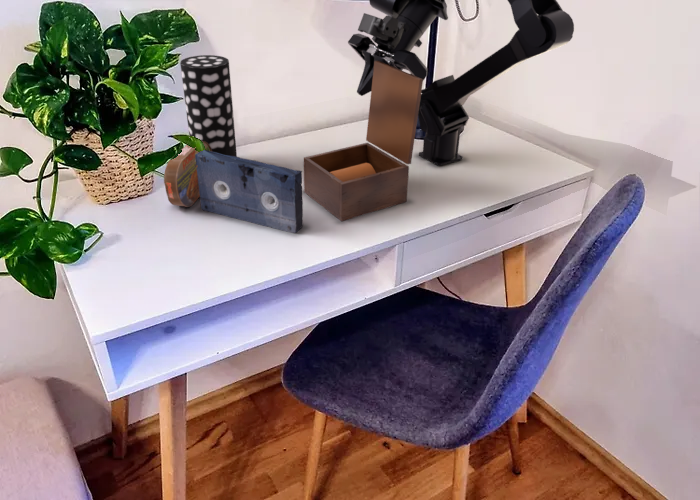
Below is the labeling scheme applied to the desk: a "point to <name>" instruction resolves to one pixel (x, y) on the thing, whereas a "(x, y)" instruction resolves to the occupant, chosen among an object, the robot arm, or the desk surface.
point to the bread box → (355, 181)
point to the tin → (183, 177)
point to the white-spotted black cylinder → (209, 101)
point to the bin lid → (394, 110)
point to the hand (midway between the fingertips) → (359, 94)
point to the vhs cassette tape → (250, 190)
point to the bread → (354, 172)
